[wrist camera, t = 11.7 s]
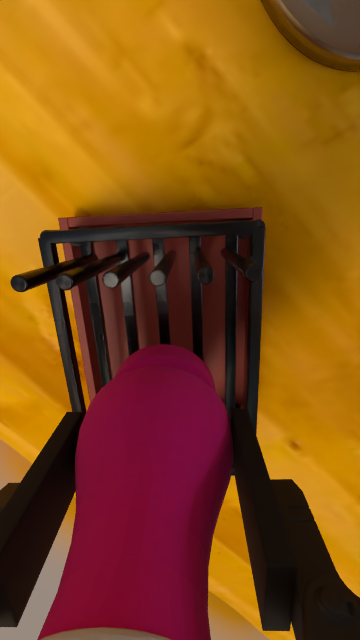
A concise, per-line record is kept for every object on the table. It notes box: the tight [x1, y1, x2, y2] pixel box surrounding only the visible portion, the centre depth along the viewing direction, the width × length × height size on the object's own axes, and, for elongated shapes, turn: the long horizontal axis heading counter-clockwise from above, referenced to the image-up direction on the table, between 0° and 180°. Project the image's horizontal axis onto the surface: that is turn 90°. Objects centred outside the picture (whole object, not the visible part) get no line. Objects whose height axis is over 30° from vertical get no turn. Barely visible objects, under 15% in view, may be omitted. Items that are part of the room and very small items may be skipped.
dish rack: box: [11, 207, 266, 476], centre depth 17 cm, size 17×13×12 cm
